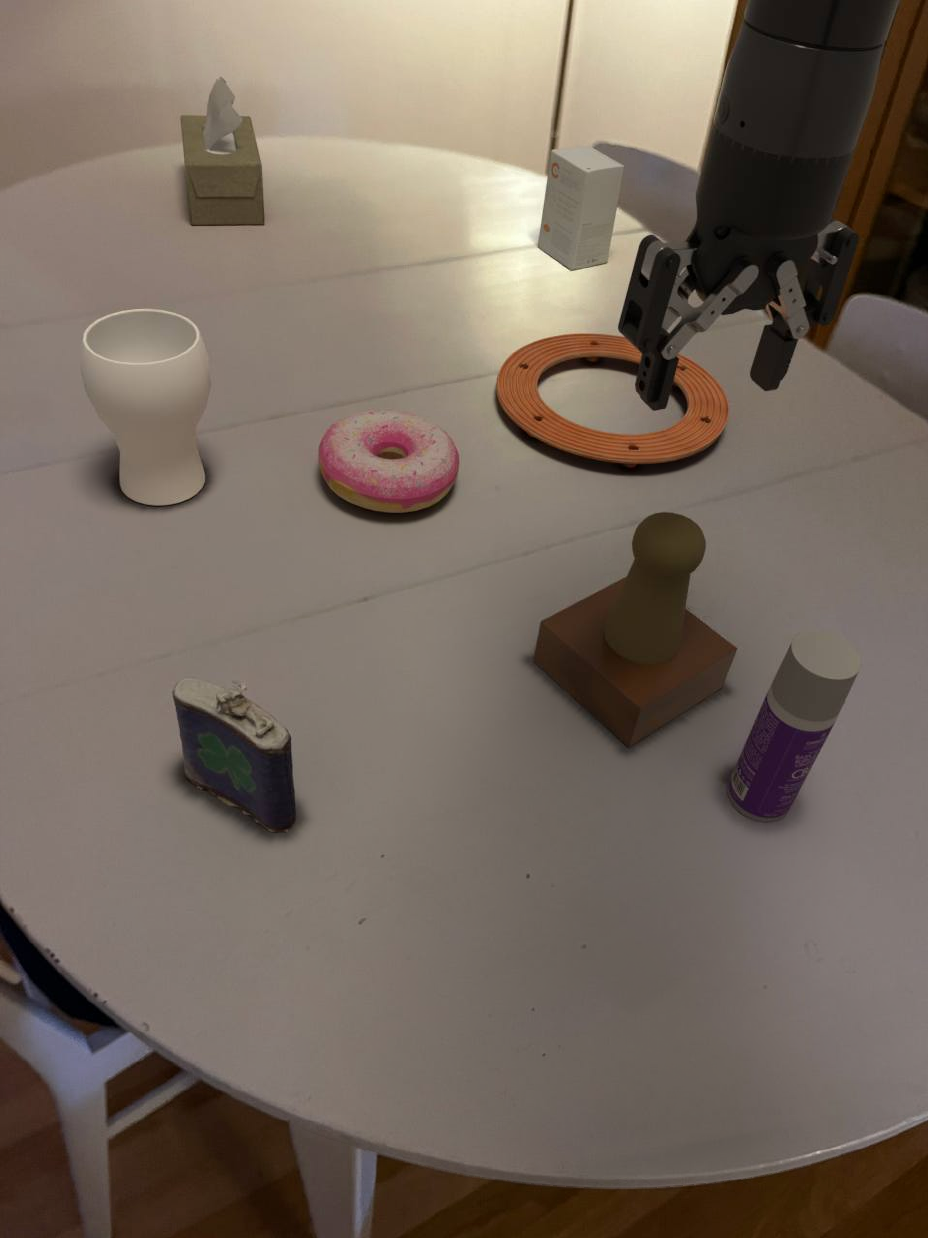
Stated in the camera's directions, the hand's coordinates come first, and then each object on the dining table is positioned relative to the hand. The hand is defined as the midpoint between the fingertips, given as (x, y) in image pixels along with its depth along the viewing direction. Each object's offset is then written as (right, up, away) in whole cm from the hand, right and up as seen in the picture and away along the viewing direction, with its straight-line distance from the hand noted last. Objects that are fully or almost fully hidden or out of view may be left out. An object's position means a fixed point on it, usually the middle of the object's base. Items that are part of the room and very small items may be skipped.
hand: (708, 393), depth 65 cm
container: (+6, -27, +10) cm, 30 cm away
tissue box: (-49, +45, +79) cm, 103 cm away
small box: (-1, +35, +75) cm, 83 cm away
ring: (0, +9, +47) cm, 48 cm away
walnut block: (-2, -19, +18) cm, 26 cm away
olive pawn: (-2, -16, +15) cm, 22 cm away
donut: (-23, -1, +34) cm, 41 cm away
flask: (-31, -27, +6) cm, 41 cm away
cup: (-44, -2, +31) cm, 54 cm away
